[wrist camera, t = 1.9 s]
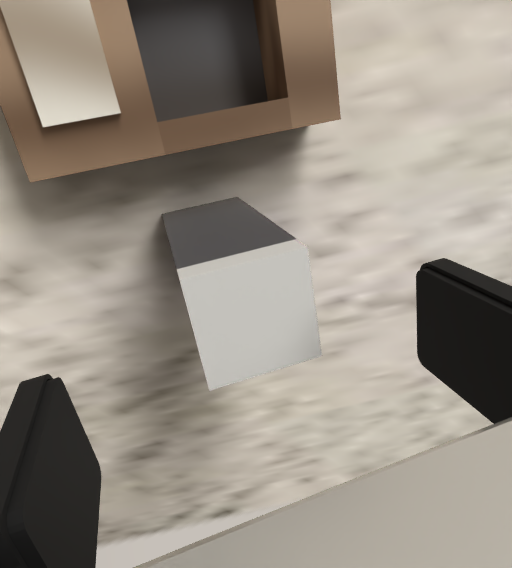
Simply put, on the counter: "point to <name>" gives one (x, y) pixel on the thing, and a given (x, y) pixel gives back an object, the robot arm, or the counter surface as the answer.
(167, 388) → the counter surface
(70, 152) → the socket block
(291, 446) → the counter surface
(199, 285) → the plug
